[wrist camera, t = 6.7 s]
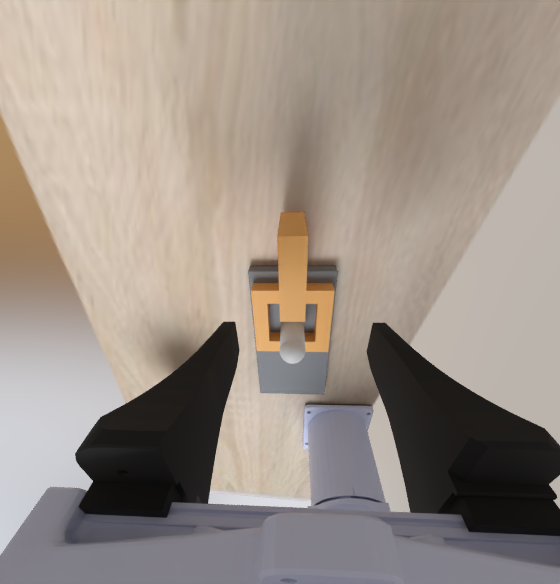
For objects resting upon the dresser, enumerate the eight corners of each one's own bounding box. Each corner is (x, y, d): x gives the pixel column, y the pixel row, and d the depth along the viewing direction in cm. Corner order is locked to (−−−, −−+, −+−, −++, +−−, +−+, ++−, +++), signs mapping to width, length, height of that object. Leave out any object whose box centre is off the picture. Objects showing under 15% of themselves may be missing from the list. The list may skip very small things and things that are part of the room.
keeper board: (323, 386, 28) (329, 436, 23) (261, 385, 28) (255, 433, 24) (335, 265, 20) (348, 304, 16) (250, 266, 21) (237, 303, 16)
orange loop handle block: (326, 342, 23) (334, 388, 19) (258, 342, 24) (250, 386, 19) (339, 211, 17) (355, 235, 13) (246, 212, 17) (231, 236, 13)
